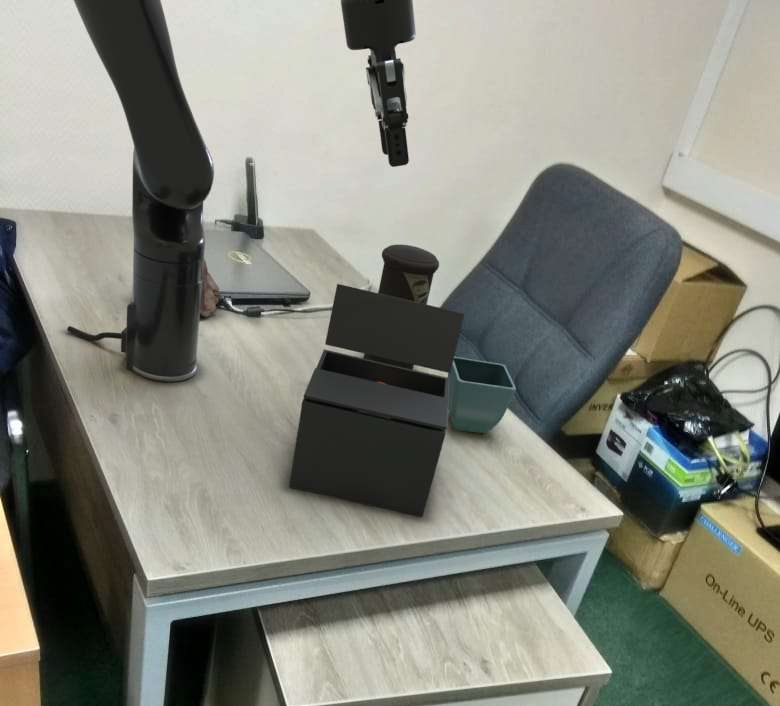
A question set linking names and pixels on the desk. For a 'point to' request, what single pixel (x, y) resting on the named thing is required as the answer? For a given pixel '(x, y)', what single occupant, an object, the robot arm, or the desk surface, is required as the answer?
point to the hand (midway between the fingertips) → (395, 159)
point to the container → (406, 280)
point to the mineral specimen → (208, 293)
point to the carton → (370, 433)
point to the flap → (394, 328)
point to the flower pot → (478, 394)
